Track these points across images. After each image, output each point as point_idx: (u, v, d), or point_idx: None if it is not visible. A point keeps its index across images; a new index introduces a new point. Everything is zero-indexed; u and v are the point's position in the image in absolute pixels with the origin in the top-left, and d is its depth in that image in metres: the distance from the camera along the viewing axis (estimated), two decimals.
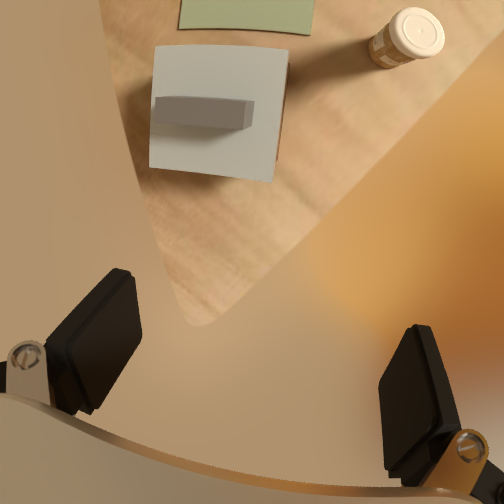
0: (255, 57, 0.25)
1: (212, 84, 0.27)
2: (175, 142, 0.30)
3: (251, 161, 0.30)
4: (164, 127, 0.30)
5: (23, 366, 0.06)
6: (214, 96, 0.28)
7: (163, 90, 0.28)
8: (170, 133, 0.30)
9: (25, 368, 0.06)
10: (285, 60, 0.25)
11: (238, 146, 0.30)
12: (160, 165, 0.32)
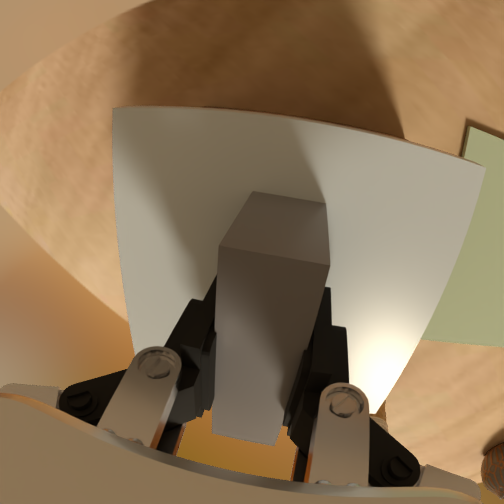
0: (376, 378, 0.13)
1: (337, 306, 0.12)
2: (182, 194, 0.11)
3: None
4: (228, 163, 0.10)
5: (149, 372, 0.07)
6: None
7: (349, 169, 0.09)
8: (208, 180, 0.10)
9: (150, 375, 0.07)
10: None
11: None
12: (119, 144, 0.10)
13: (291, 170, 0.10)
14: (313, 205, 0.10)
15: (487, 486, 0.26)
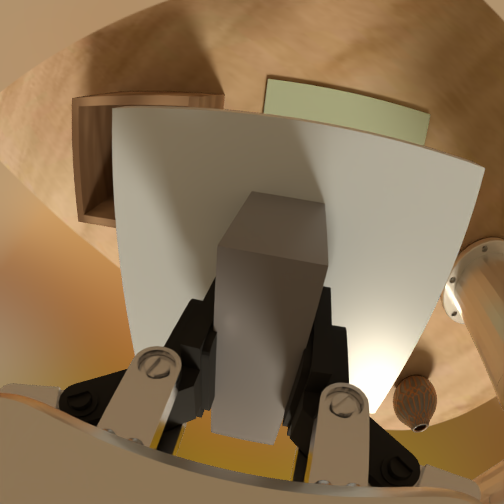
0: (375, 378, 0.13)
1: (336, 305, 0.12)
2: (182, 194, 0.11)
3: None
4: (227, 163, 0.10)
5: (149, 372, 0.07)
6: None
7: (348, 170, 0.10)
8: (207, 181, 0.11)
9: (150, 375, 0.07)
10: None
11: None
12: (119, 144, 0.10)
13: (290, 170, 0.10)
14: (312, 205, 0.10)
15: (398, 417, 0.39)
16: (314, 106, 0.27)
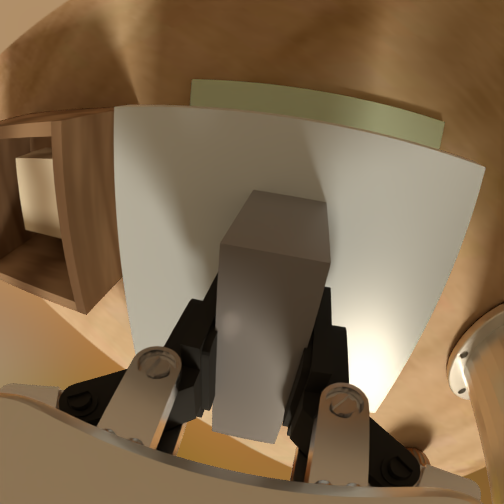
0: (376, 377, 0.13)
1: (337, 304, 0.12)
2: (183, 193, 0.11)
3: None
4: (228, 162, 0.10)
5: (149, 372, 0.07)
6: None
7: (349, 168, 0.10)
8: (209, 179, 0.11)
9: (150, 375, 0.07)
10: None
11: None
12: (120, 142, 0.10)
13: (292, 169, 0.10)
14: (313, 204, 0.10)
15: None
16: None
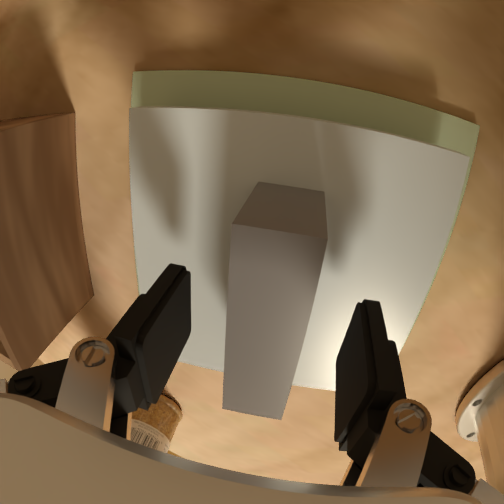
0: None
1: (337, 287, 0.13)
2: (195, 186, 0.12)
3: None
4: (236, 157, 0.11)
5: (86, 362, 0.07)
6: None
7: (344, 161, 0.11)
8: (218, 173, 0.12)
9: (88, 365, 0.07)
10: None
11: (199, 318, 0.15)
12: (136, 141, 0.12)
13: (292, 162, 0.11)
14: (313, 193, 0.11)
15: None
16: None
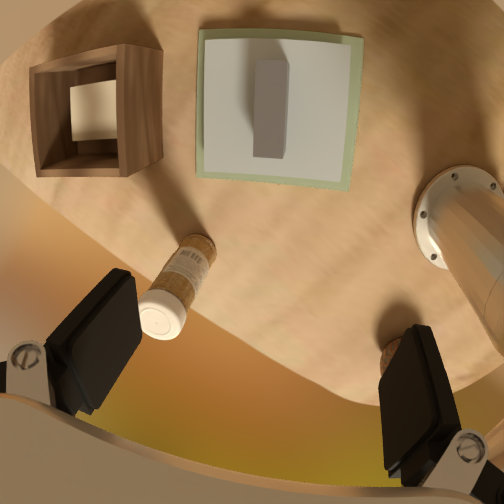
0: (332, 151, 0.28)
1: (302, 107, 0.26)
2: (235, 68, 0.25)
3: (222, 150, 0.29)
4: (252, 55, 0.25)
5: (23, 366, 0.06)
6: (288, 109, 0.27)
7: (296, 52, 0.24)
8: (245, 62, 0.25)
9: (25, 368, 0.06)
10: (329, 179, 0.29)
11: (236, 136, 0.28)
12: (208, 52, 0.25)
13: (275, 55, 0.24)
14: None
15: None
16: None
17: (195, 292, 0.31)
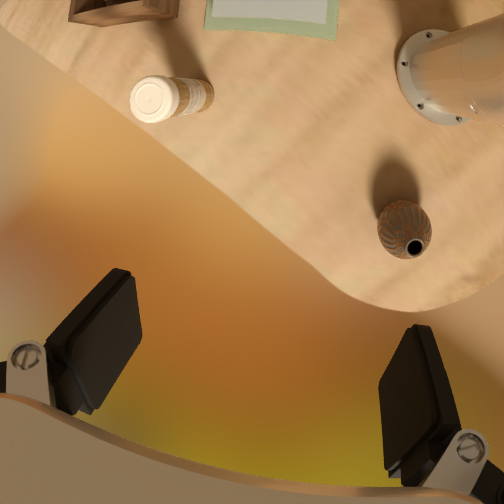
0: None
1: None
2: None
3: None
4: None
5: (23, 366, 0.06)
6: None
7: None
8: None
9: (25, 368, 0.06)
10: (316, 19, 0.28)
11: None
12: None
13: None
14: None
15: (386, 243, 0.36)
16: None
17: (190, 97, 0.30)
